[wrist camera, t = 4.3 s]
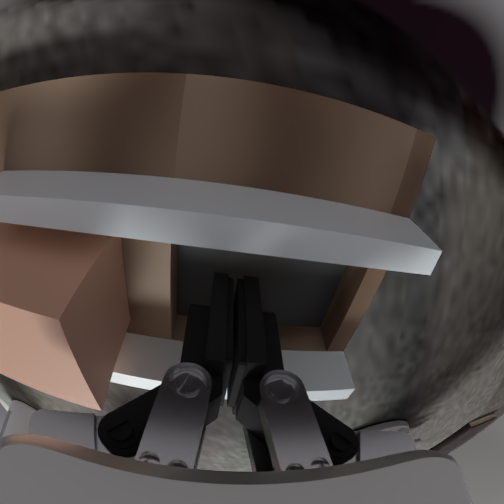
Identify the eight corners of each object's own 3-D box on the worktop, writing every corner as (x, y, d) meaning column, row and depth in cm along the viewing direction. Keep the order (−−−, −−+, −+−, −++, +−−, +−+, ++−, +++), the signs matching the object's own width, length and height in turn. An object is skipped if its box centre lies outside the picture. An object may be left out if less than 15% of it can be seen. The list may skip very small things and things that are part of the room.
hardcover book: (493, 411, 42) (496, 417, 40) (435, 453, 54) (437, 459, 52) (467, 420, 39) (471, 428, 37) (401, 463, 50) (403, 470, 48)
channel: (409, 218, 10) (442, 251, 8) (336, 362, 15) (346, 398, 13) (3, 170, 8) (-34, 193, 6) (43, 324, 13) (26, 355, 11)
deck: (409, 128, 10) (436, 137, 8) (311, 369, 18) (316, 393, 17) (-57, 112, 7) (-78, 120, 5) (-11, 312, 15) (-22, 328, 13)
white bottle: (5, 395, 24) (-25, 493, 9) (29, 402, 24) (-1, 513, 8) (33, 420, 28) (11, 511, 12) (60, 427, 27) (39, 529, 12)
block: (120, 224, 10) (58, 319, 6) (130, 319, 12) (101, 411, 8) (9, 212, 9) (-60, 278, 5) (33, 298, 12) (-9, 368, 7)
